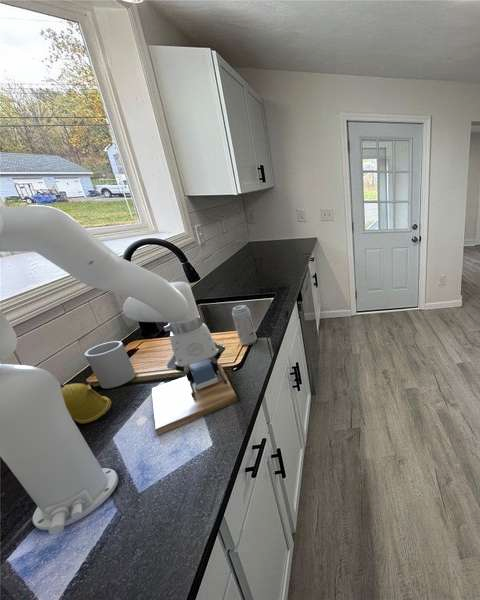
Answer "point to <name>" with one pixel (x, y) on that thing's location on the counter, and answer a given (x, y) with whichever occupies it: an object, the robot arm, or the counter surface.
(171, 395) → the wooden base
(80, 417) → the yellow rounded dome part
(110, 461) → the counter surface
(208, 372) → the blue and white block
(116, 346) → the cup
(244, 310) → the energy drink can
